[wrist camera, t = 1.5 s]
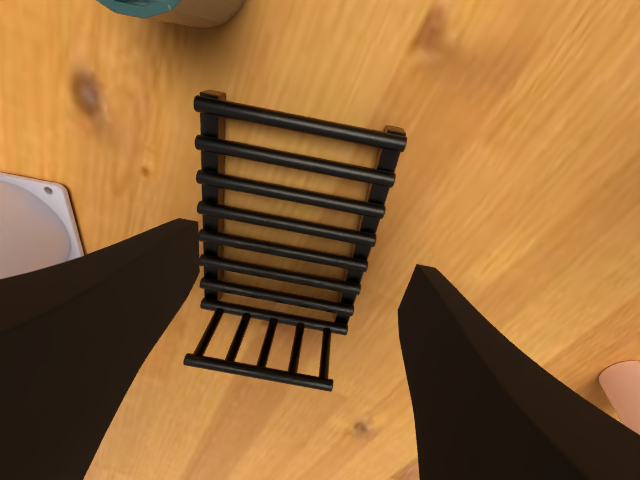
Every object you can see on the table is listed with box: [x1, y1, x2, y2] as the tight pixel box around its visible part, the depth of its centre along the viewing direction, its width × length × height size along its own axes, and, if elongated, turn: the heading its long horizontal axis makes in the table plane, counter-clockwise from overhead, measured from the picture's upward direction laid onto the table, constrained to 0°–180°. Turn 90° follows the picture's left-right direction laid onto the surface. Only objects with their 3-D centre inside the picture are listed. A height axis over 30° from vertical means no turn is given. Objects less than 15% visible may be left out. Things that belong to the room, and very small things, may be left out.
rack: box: [184, 90, 407, 392], centre depth 19 cm, size 11×15×7 cm
